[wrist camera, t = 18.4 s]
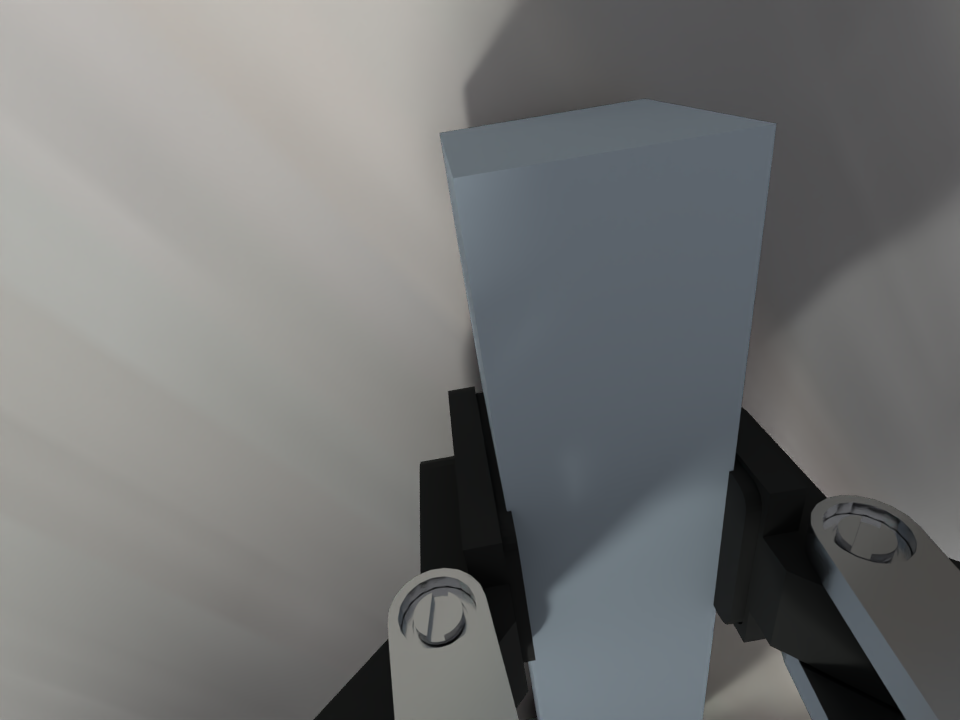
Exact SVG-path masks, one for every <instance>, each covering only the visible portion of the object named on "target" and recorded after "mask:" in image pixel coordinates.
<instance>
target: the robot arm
mask: <svg viewBox="0 0 960 720" xmlns="http://www.w3.org/2000/svg"><path fill="white" fill-rule="evenodd" d="M448 395H449V406H450V416H451V427H452V437H453V448H454V456H452V457H446V458H440V459H435V460H429V461H424V462H421V463H420V556H421V574H420V575H417V576H416V577H414V578H413V579H412V580H410V581H409V582H407V583H406V584H405V585H404V586H403V587H402V588H401V590H400V591H399V592H398V593H397V594H396V596H395V597H394V599H393V602H392V604H391V606H390V609H389V613H388V624H387V626H388V640H387V641H386V642H385V643H384V644H383V645H382V646H381V647H380V648H379V649H378V650H377V652H376V653H375V654H374V655H373V656H372V657H371V658H370V659H369V660H368V661H367V662H366V664H365V665H364V666H363V667H362V668H361V669H360V670H359V671H358V672H357V673H356V674H355V675H354V677H353V678H352V679H351V680H350V681H349V682H348V683H347V684H346V685H345V686H344V687H343V688H342V690H341V691H340V692H339V693H338V694H337V695H336V696H335V697H334V698H333V699H332V700H331V701H330V703H329V704H328V705H327V706H326V707H325V708H324V709H323V710H322V711H321V712H320V713H319V714H318V716H317V717H316V718H315V719H314V720H519V719H518V715H517V711H516V708H517V707H518V705H519V704H520V702H521V701H522V699H523V698H524V696H525V695H526V693H527V692H528V688H527V682H526V676H525V671H524V665H523V663H524V662H529V661H535V660H536V659H535V652H534V646H533V639H532V633H531V626H530V620H529V613H528V607H527V600H526V594H525V587H524V581H523V574H522V568H521V561H520V555H519V549H518V543H517V537H516V532H515V527H514V522H513V517H512V512H511V511H507V509H506V504H505V499H504V494H503V489H502V484H501V479H500V474H499V469H498V464H497V459H496V454H495V449H494V444H493V439H492V434H491V429H490V424H489V418H488V413H487V408H486V403H485V398H484V393H483V392H481V393H476V392H475V386H474V387H469V388H463V389H457V390H452V391H448ZM713 605H714V607H715V609H716V611H717V613H718V614H719V616H720V618H721V619H722V621H723V622H724V623H725V624H727V625H728V624H734V626H735V627H736V629H737V631H738V633H739V635H740V636H741V638H742V640H743V642H749V641H755V640H760V639H765V638H766V639H767V641H768V643H769V644H770V646H772V647H774V648H776V649H778V650H780V651H781V653H782V656H783V659H784V662H785V665H786V667H787V669H788V671H789V673H790V675H791V677H792V679H793V681H794V683H795V685H796V688H797V690H798V692H799V694H800V696H801V698H802V700H803V702H804V704H805V706H806V708H807V711H808V713H809V715H810V717H811V719H812V720H960V562H959V561H956V560H953V559H950V558H948V557H947V556H946V555H945V554H944V553H943V552H942V550H941V549H940V548H939V547H938V546H937V545H936V544H935V543H934V541H933V540H932V539H931V538H930V537H929V536H928V535H927V534H926V532H925V531H924V530H923V529H922V528H921V527H920V526H919V525H918V524H917V523H916V522H914V521H913V520H912V519H911V518H910V517H909V516H908V515H906V514H904V513H903V512H901V511H899V510H898V509H896V508H894V507H892V506H890V505H888V504H885V503H882V502H880V501H877V500H875V499H870V498H865V497H861V496H849V495H839V496H835V497H830V498H827V497H826V496H825V495H824V494H823V493H822V492H821V491H820V490H819V489H818V488H817V487H816V486H815V484H814V483H813V482H812V481H811V480H810V479H809V478H808V477H807V476H806V475H805V474H804V473H803V471H802V470H801V469H800V468H799V467H798V466H797V465H796V464H795V463H794V462H793V461H792V460H791V458H790V457H789V456H788V455H787V454H786V453H785V452H784V451H783V450H782V449H781V448H780V447H779V445H778V444H777V443H776V442H775V441H774V440H773V439H772V438H771V437H770V436H769V435H768V434H767V432H766V431H765V430H764V429H763V428H762V427H761V426H760V425H759V424H758V423H757V422H756V421H755V419H754V418H753V417H752V416H751V415H750V414H749V413H748V412H747V411H746V410H745V409H743V408H742V407H741V414H740V422H739V430H738V438H737V446H736V454H735V462H734V470H733V471H729V477H728V486H727V494H726V503H725V511H724V519H723V528H722V536H721V545H720V553H719V561H718V570H717V578H716V586H715V595H714V603H713Z"/></svg>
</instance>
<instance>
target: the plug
mask: <svg viewBox="0 0 960 720" xmlns="http://www.w3.org/2000/svg"><path fill="white" fill-rule="evenodd" d="M775 132H776V123H771V122H765V121H760V120H755V119H750V118H744V117H739V116H734V115H729V114H723V113H718V112H713V111H707V110H702V109H697V108H692V107H686V106H681V105H676V104H671V103H665V102H660V101H655V100H650V99H640V100H634V101H628V102H622V103H616V104H610V105H604V106H598V107H592V108H586V109H580V110H574V111H568V112H562V113H556V114H550V115H544V116H538V117H532V118H526V119H520V120H514V121H508V122H502V123H496V124H490V125H484V126H478V127H472V128H466V129H460V130H454V131H448V132H442V133H440V138H441V144H442V150H443V156H444V162H445V168H446V174H447V180H448V186H449V192H450V198H451V204H452V210H453V216H454V222H455V228H456V234H457V240H458V246H459V252H460V258H461V264H462V270H463V276H464V282H465V288H466V294H467V300H468V306H469V312H470V318H471V324H472V330H473V336H474V342H475V348H476V354H477V360H478V366H479V372H480V378H481V384H482V390H483V393H484V398H485V403H486V408H487V413H488V418H489V424H490V429H491V434H492V439H493V444H494V449H495V454H496V459H497V464H498V469H499V474H500V479H501V484H502V489H503V494H504V499H505V504H506V509H507V511H511V512H512V517H513V522H514V527H515V532H516V537H517V543H518V549H519V555H520V561H521V568H522V574H523V581H524V587H525V594H526V600H527V607H528V613H529V620H530V626H531V633H532V639H533V646H534V652H535V659H536V660H535V661H529V662H528V665H529V671H530V677H531V683H532V689H533V695H534V701H535V707H536V713H537V718H533V719H528V720H703V712H704V704H705V696H706V688H707V680H708V672H709V664H710V655H711V647H712V639H713V631H714V623H715V615H716V609H715V607H714V605H713V603H714V595H715V586H716V578H717V570H718V561H719V553H720V545H721V536H722V528H723V519H724V511H725V503H726V494H727V486H728V477H729V471H733V470H734V462H735V454H736V446H737V438H738V430H739V422H740V414H741V406H742V398H743V390H744V382H745V374H746V366H747V357H748V349H749V341H750V333H751V325H752V317H753V309H754V301H755V293H756V285H757V277H758V269H759V261H760V253H761V245H762V237H763V229H764V221H765V213H766V204H767V196H768V188H769V180H770V172H771V164H772V156H773V148H774V140H775Z"/></svg>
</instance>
